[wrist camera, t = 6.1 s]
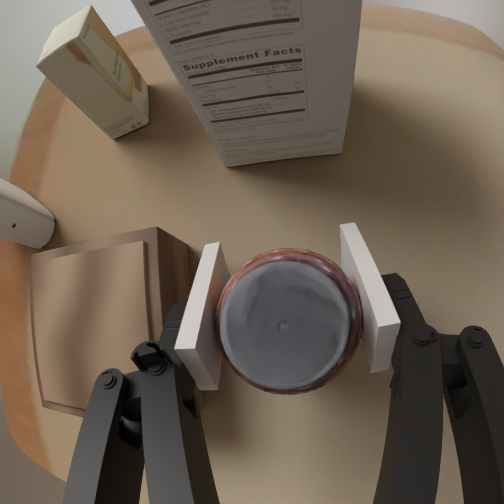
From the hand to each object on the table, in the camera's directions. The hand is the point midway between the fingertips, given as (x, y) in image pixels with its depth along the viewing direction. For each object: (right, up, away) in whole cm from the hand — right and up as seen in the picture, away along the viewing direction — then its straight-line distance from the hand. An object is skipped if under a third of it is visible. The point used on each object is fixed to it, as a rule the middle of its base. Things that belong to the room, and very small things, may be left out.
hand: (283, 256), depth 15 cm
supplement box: (+1, +12, +8) cm, 14 cm away
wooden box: (-12, -6, +6) cm, 14 cm away
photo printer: (-26, +4, +11) cm, 28 cm away
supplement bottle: (+1, -4, +5) cm, 6 cm away
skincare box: (-14, +14, +11) cm, 23 cm away
